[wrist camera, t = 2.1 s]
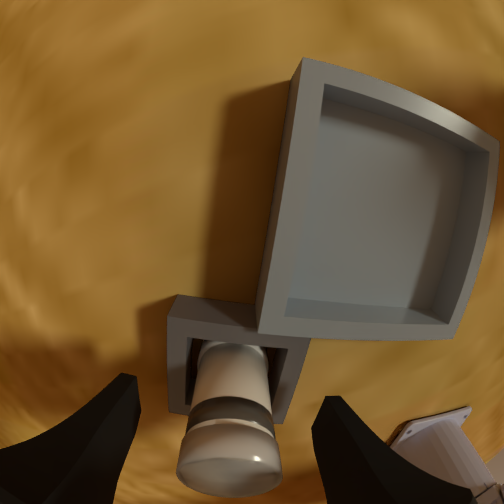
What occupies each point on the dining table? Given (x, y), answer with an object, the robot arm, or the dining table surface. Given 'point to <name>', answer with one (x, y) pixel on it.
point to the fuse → (230, 425)
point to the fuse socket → (231, 331)
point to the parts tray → (373, 212)
